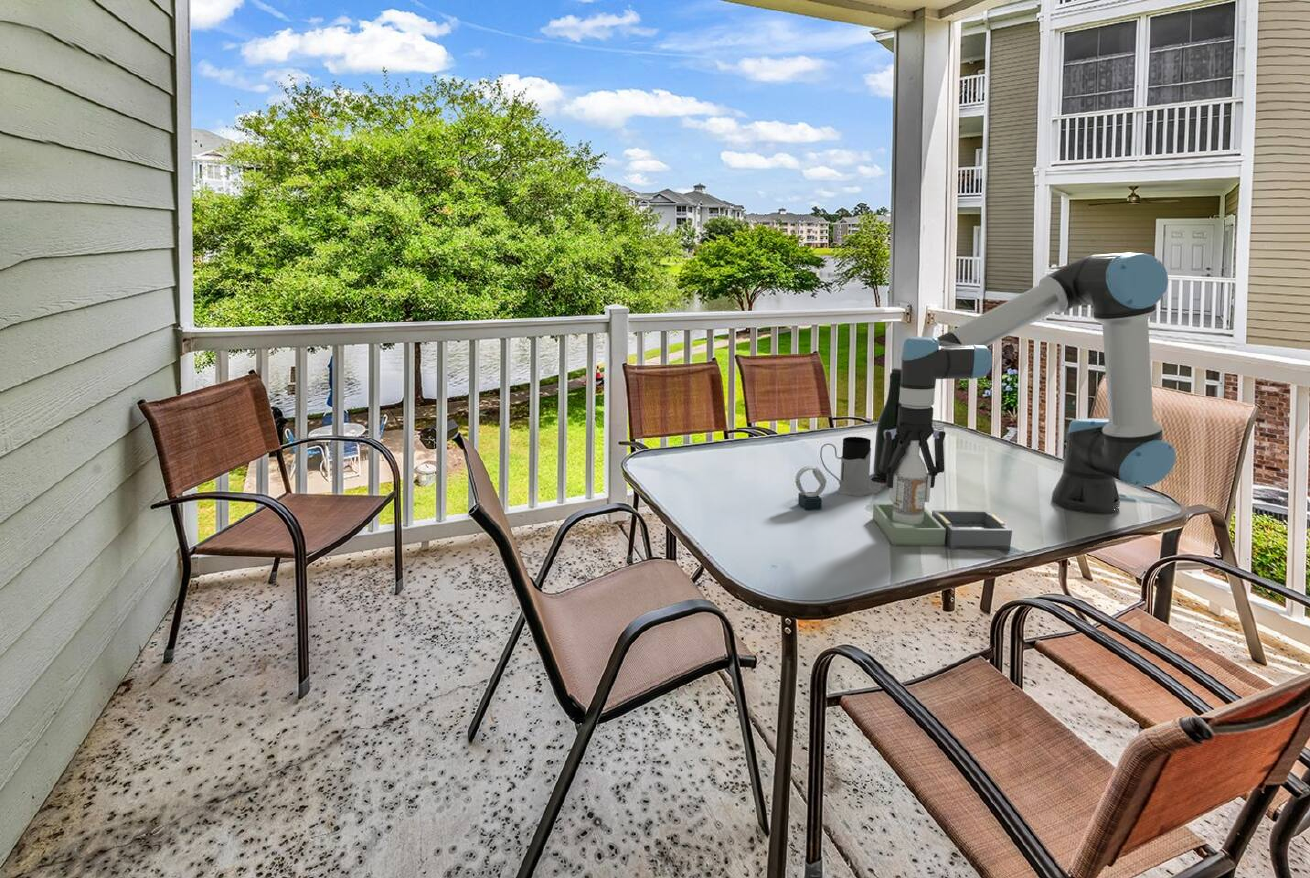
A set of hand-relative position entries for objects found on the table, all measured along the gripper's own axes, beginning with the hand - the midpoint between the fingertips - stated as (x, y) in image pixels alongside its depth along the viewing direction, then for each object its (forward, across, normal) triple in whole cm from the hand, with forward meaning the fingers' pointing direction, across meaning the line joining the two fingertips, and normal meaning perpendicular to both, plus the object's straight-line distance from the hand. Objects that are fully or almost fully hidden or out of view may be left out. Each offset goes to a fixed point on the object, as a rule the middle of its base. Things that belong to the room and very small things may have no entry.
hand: (909, 500), depth 161 cm
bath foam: (+5, 0, 0) cm, 5 cm away
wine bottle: (+8, -9, -46) cm, 48 cm away
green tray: (+8, 0, 0) cm, 8 cm away
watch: (+8, +20, -18) cm, 28 cm away
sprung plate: (+7, -13, +4) cm, 15 cm away
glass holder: (+8, +8, -32) cm, 34 cm away
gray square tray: (+8, -13, +4) cm, 16 cm away
